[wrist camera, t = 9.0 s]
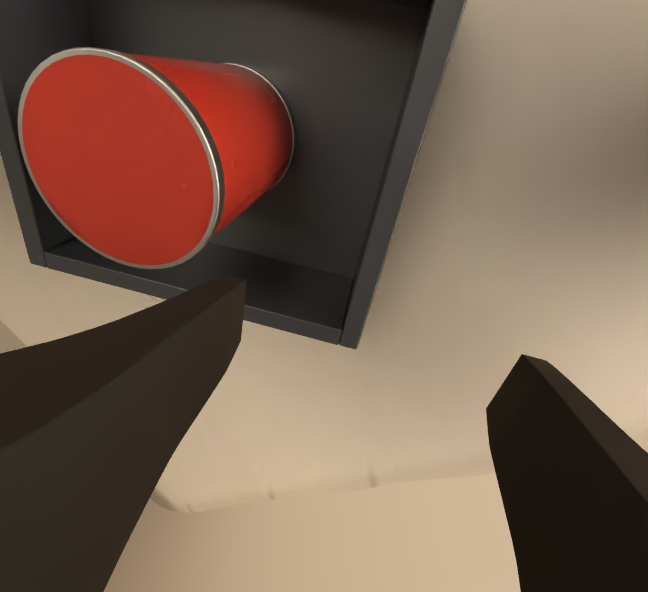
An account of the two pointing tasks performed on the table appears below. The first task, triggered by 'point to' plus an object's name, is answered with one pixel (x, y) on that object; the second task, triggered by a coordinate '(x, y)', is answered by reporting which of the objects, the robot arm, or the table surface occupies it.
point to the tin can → (151, 149)
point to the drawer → (311, 140)
